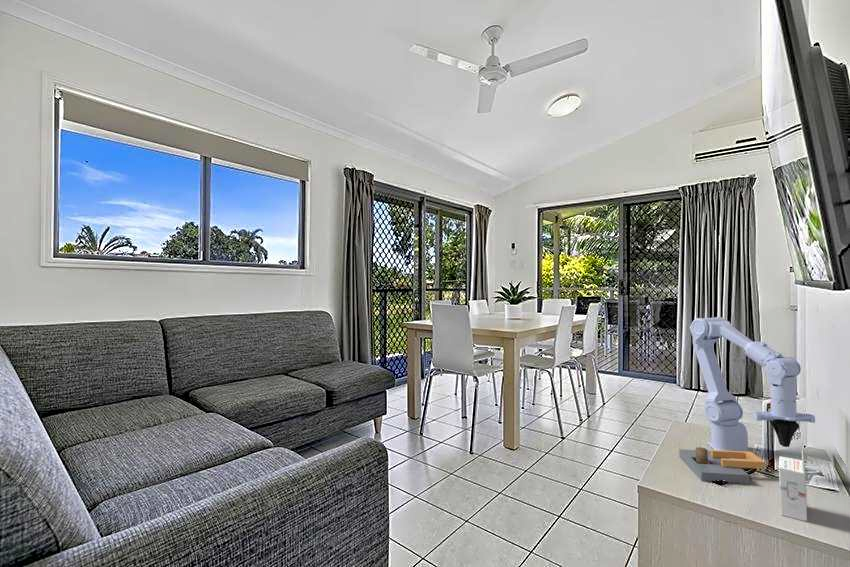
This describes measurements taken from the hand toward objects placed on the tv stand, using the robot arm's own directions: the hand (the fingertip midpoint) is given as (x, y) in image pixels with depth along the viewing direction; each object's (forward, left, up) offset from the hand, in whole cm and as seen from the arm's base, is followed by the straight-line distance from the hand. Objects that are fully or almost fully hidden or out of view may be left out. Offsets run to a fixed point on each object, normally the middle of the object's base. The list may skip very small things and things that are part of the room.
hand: (784, 445), depth 120 cm
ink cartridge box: (+10, +21, -9) cm, 25 cm away
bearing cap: (+12, 0, -6) cm, 13 cm away
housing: (+19, 0, -8) cm, 21 cm away
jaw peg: (+22, 0, -8) cm, 23 cm away
